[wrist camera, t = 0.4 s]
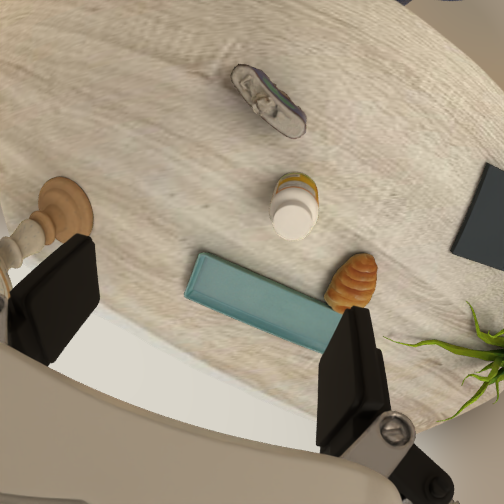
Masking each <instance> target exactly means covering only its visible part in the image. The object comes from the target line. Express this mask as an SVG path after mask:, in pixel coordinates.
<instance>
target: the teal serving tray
mask: <svg viewBox="0 0 504 504" xmlns="http://www.w3.org/2000/svg"><path fill="white" fill-rule="evenodd" d="M184 297H185V298H187V299H189V300H192V301H194V302H196V303H199V304H201V305H203V306H205V307H208V308H210V309H212V310H215V311H217V312H219V313H222V314H224V315H226V316H229V317H231V318H233V319H236V320H238V321H241V322H243V323H245V324H248V325H250V326H252V327H255V328H257V329H260V330H262V331H265V332H267V333H270V334H272V335H274V336H277V337H280V338H282V339H284V340H287V341H290V342H292V343H294V344H297V345H300V346H302V347H305V348H308V349H310V350H313V351H316V352H318V353H321V354H323V353H324V351H325V349H326V347H327V346H328V344H329V342H330V340H331V338H332V336H333V334H334V332H335V330H336V328H337V326H338V323H339V321H340V319H341V317H342V315H343V314H340V313H338V312H336V311H334V310H333V309H332V307H331V306H329V305H328V304H325V303H323V302H321V301H319V300H316V299H314V298H312V297H309V296H307V295H305V294H303V293H300V292H298V291H296V290H293V289H291V288H289V287H287V286H284V285H282V284H280V283H277V282H275V281H273V280H270V279H268V278H266V277H264V276H261V275H259V274H257V273H254V272H252V271H250V270H247V269H245V268H243V267H241V266H238V265H236V264H234V263H232V262H229V261H227V260H225V259H222V258H220V257H218V256H216V255H213V254H211V253H206V252H203V253H199V255H198V257H197V260H196V263H195V266H194V269H193V272H192V274H191V277H190V280H189V282H188V285H187V287H186V290H185V292H184Z"/></svg>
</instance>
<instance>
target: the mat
mask: <svg viewBox="0 0 504 504" xmlns="http://www.w3.org/2000/svg"><path fill="white" fill-rule="evenodd" d="M450 251H451V252H452V254H454V255H457V256H460V257H463V258H466V259H469V260H472V261H475V262H478V263H481V264H484V265H487V266H490V267H493V268H496V269H499V270H502V271H504V171H503V170H501V169H499V168H497V167H495V166H493V165H491V164H489V163H486V166H485V169H484V172H483V174H482V177H481V180H480V183H479V185H478V188H477V190H476V193H475V196H474V198H473V201H472V203H471V206H470V208H469V210H468V213H467V215H466V217H465V220H464V222H463V224H462V226H461V229H460V231H459V233H458V235H457V237H456V240H455V242H454V244H453V246H452V248H451V250H450Z"/></svg>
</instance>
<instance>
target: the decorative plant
mask: <svg viewBox="0 0 504 504" xmlns="http://www.w3.org/2000/svg"><path fill="white" fill-rule="evenodd" d="M466 302H467V301H466ZM467 303H468V302H467ZM468 304H469V303H468ZM469 305H470V304H469ZM470 307H471V309H472V312H473V316H474V320H475V326H476V331H477V336H478V337H479V338H480V339H482V340H483V341H484V342H486V343H487V344H491V345H496V346H500V347H503V348H504V337H498V336H500V335H502V334H504V329H503V330H501V331H500V332H498V333H497V334H495V335H493V336H491V335H490V334H489V332H490V330H489V332H488V334H485V333H483V332H480V329H479V325H478V321H477V318H476V315H475V312H474V310H473V308H472V306H471V305H470ZM383 337H384V336H383ZM385 338H386V337H385ZM387 339H388V338H387ZM389 340H391V339H389ZM391 341H393V340H391ZM393 342H395V341H393ZM396 343H400V342H396ZM400 344H403V345H407V346H413V347H417V346H421V345H431V344H437V345H439V346H441V347H443V348H444V349H446V350H448V351H450V352H452V353H454V354H458V355H463V356H469V357H475V358H479V359H483V360H486V361H494V362H492V363H490V364H488V365H487V366H486V367H484V368H483V369H482V370H481V371H480V372H482V371H484V370H487V369H491V368H492V370H491V372H490V374H489V375H488V377H481V376H478V375H475V374H469V375H468V376H467V377H469V376H474V377H476V378H477V379H479V380H480V381H485V382H484V383H483V385H482V386H481V387H480V389H479V390H478V391H477V393H476V394H475V395H474V396H473V397H472V398H471V399H470V400H469V401H467V402H466V403H465V404H464V405H463V406H462V407H461V408H460V410H459V411H458V412H457V413H456V414H455V415H454V416H453V417H451V418H448V419H446V420H449V419H452V418H454V417H455V416H456V415H458V414H459V413H460V412H461V411H462V410H463V409H464V408H465V407H467V406H468V405H470V404H472V403H473V402H475V401H476V400H477V399H478V398H479V397H480V396H481V395H482V394H483V393H484V391H485V390H486V388H487V386H488V385H490V384H493V383H494V382H495V383H496V390H497V400H498V398H499V384H498V382H499V381H502V380H504V349H497V350H490V351H481V350H473V349H468V348H464V347H460V346H456V345H452V344H449V343H445V342H442V341H439V340H425V341H421V342H419V343H417V344H405V343H400ZM499 367H502V368H500V369H499ZM498 369H499V370H498ZM480 372H475V373H480ZM467 377H466V378H467ZM466 378H465V379H466ZM465 379H464V380H465ZM463 382H464V381H463ZM462 385H463V383H462ZM462 385H461V386H462ZM497 400H496V401H497ZM442 421H445V420H442ZM436 422H439V421H436Z"/></svg>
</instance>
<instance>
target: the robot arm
mask: <svg viewBox="0 0 504 504" xmlns="http://www.w3.org/2000/svg"><path fill="white" fill-rule="evenodd" d="M9 293H10V298H9V299H8V300H7V298H6V296H4V295H3V294H0V504H460V503H459V501H456V502H454V500H453V499H452V498H453V495H454V484H453V482H452V479H451V478H450V476H449V475H448V474H447V473H446V472H445V471H443V469H441V468H440V467H439V466H438V465H437V464H436V463H435V462H434V461H433V460H431V459H430V458H429V457H428V456H427V455H426V454H425V453H424V452H423V451H421V449H419V448H418V447H417V446H416V445H415V444H414V441H415V438H416V431H415V427H414V425H413V423H412V421H411V420H410V419H409V418H408V417H407V416H405V415H404V414H402V413H400V412H397V411H391V405H390V398H389V391H388V385H387V379H386V373H385V367H384V361H383V355H382V352H381V350H380V349H378V348H376V344H375V338H374V333H373V327H372V322H371V317H370V312H369V309H367V308H363V307H358V306H352V307H351V309H348V308H346V309H345V311H344V313H343V315H342V317H341V319H340V321H339V323H338V326H337V328H336V330H335V332H334V334H333V336H332V338H331V340H330V342H329V344H328V346H327V347H326V349H325V351H324V353H323V355H322V357H321V359H320V363H319V372H318V408H317V431H316V445H317V446H320V453H314V452H309V451H304V450H298V449H292V448H287V447H282V446H276V445H271V444H267V443H262V442H258V441H253V440H248V439H244V438H239V437H235V436H231V435H227V434H223V433H219V432H215V431H212V430H208V429H204V428H201V427H198V426H194V425H191V424H188V423H184V422H181V421H178V420H175V419H172V418H169V417H165V416H162V415H159V414H156V413H154V412H151V411H148V410H145V409H143V408H140V407H137V406H134V405H132V404H129V403H127V402H124V401H121V400H119V399H117V398H114V397H112V396H109V395H107V394H105V393H102V392H100V391H97V390H95V389H93V388H90V387H88V386H86V385H84V384H82V383H80V382H77V381H75V380H73V379H71V378H69V377H67V376H65V375H63V374H61V373H59V372H57V371H55V370H53V369H51V368H49V367H48V365H49V364H50V363H54V362H55V361H56V359H57V358H58V357H59V355H60V354H61V352H62V351H63V350H64V348H65V347H66V346H67V344H68V343H69V342H70V340H71V339H72V338H73V336H74V335H75V334H76V332H77V331H78V330H79V328H80V327H81V326H82V325H83V323H84V322H85V321H86V319H87V318H88V317H89V316H90V314H91V313H92V312H93V311H94V309H95V308H96V307H97V305H98V303H99V300H100V293H99V285H98V275H97V265H96V253H95V244H94V242H93V241H92V239H91V237H89V236H86V235H83V234H79V233H76V234H75V235H73V236H72V237H71V238H70V239H69V240H67V241H66V242H65V243H64V244H63V245H61V246H60V247H59V248H58V249H57V250H55V251H54V252H53V253H52V254H51V255H50V256H48V257H47V258H46V259H45V260H44V261H43V262H41V263H40V264H39V265H38V266H37V267H36V268H35V269H34V270H32V271H31V273H29V274H28V275H27V276H26V277H25V278H24V279H23V280H22V281H21V282H19V283H18V284H17V285H16V286H15V287H14V288H13V289H12V290H11V291H10V292H9Z"/></svg>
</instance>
